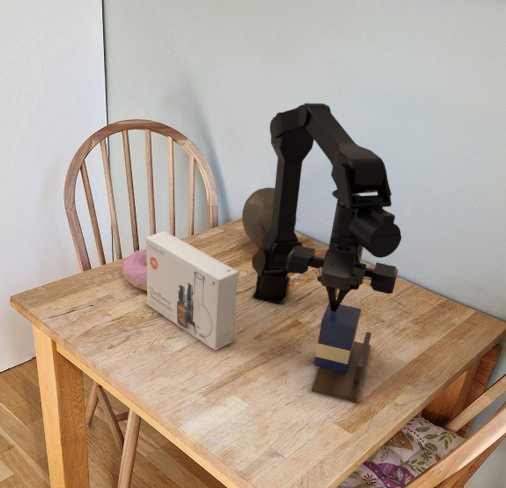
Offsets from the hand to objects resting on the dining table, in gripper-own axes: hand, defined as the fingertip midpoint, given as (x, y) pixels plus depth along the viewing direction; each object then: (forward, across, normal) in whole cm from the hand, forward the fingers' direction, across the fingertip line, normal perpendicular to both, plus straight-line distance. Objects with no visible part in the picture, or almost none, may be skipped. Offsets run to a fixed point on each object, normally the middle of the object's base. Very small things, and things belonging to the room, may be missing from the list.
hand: (333, 310), depth 111 cm
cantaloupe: (+11, -24, +44) cm, 52 cm away
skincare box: (+12, -28, +1) cm, 30 cm away
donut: (+11, -41, +15) cm, 45 cm away
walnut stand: (+11, +4, -1) cm, 12 cm away
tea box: (+5, +2, 0) cm, 6 cm away
